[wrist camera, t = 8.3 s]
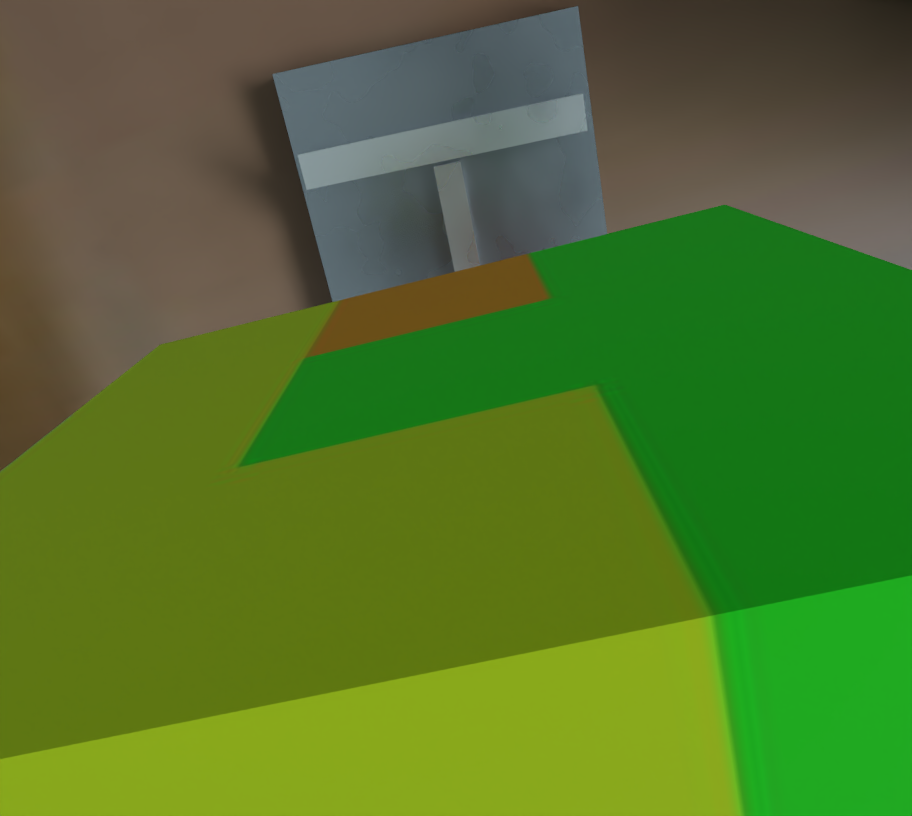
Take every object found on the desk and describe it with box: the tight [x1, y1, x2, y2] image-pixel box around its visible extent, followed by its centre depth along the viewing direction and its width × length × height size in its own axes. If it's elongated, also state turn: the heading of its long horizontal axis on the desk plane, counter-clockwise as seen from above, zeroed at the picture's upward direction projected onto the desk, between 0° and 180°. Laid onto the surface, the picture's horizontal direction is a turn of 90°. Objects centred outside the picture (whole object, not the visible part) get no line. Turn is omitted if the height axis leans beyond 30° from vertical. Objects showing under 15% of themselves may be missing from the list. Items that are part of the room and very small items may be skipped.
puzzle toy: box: [0, 205, 912, 816], centre depth 10 cm, size 10×10×10 cm
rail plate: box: [272, 6, 607, 302], centre depth 30 cm, size 20×11×3 cm, turn 11°
